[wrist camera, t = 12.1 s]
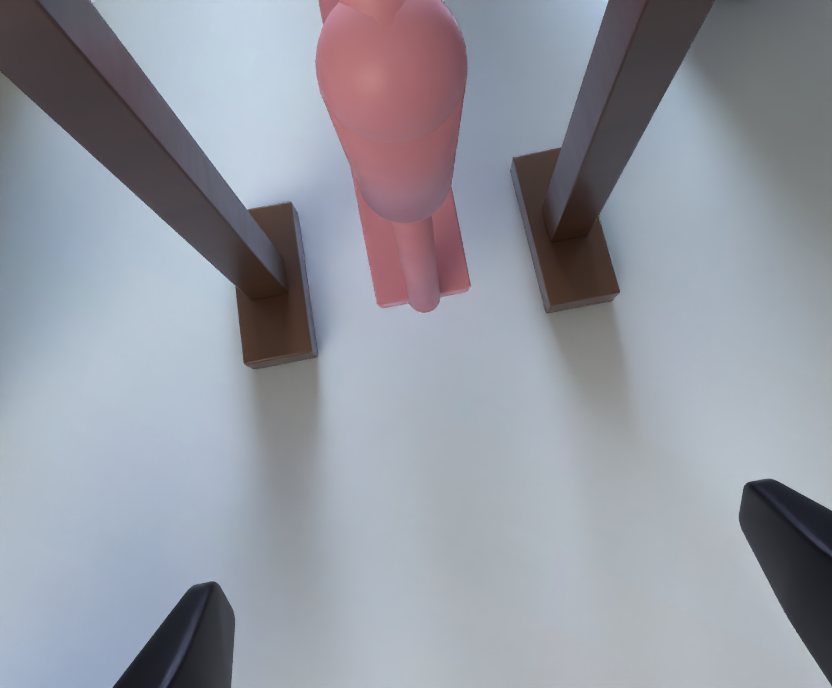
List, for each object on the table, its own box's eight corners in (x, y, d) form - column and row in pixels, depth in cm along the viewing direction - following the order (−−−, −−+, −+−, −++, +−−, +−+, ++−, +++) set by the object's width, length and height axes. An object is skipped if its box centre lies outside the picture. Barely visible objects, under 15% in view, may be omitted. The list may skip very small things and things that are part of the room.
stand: (613, 301, 21) (966, -104, 6) (252, 370, 21) (-176, 127, 7) (572, 158, 22) (788, -430, 8) (236, 224, 23) (-143, -231, 8)
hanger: (471, 306, 19) (557, 211, 6) (383, 323, 19) (298, 262, 7) (408, -13, 19) (374, -696, 7) (321, 4, 19) (126, -643, 7)
